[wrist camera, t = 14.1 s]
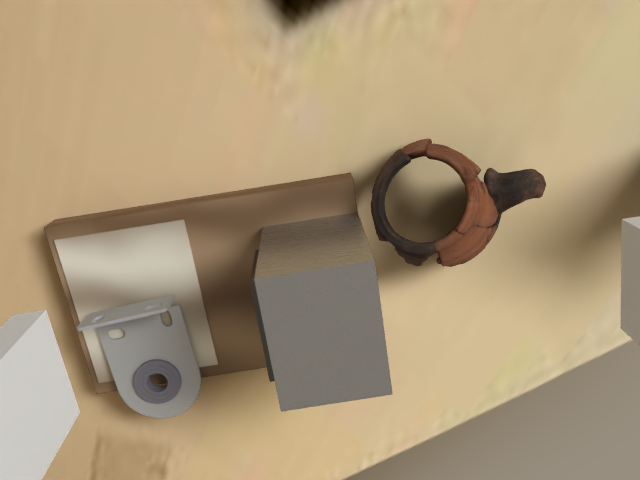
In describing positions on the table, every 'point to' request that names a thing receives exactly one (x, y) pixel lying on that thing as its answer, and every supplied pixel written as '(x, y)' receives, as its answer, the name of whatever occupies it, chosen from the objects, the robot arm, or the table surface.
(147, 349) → the bracket
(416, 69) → the table surface
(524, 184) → the pottery mug
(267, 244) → the grey box
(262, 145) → the table surface
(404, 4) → the table surface
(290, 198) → the brown wooden flat board
